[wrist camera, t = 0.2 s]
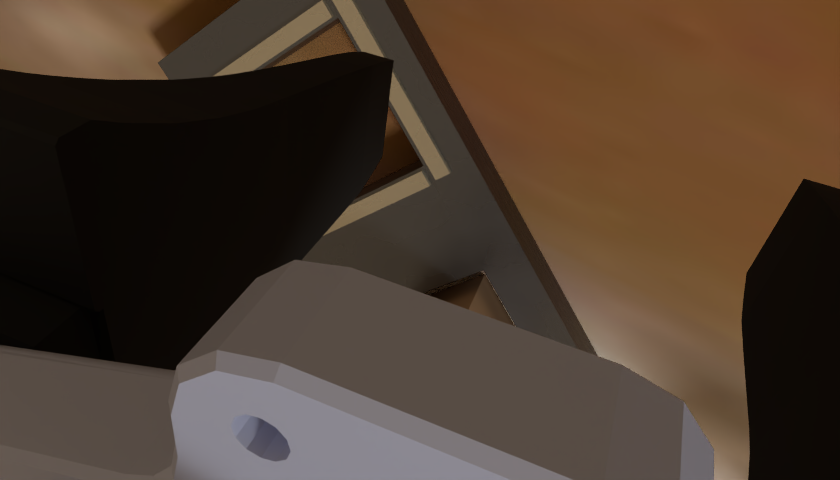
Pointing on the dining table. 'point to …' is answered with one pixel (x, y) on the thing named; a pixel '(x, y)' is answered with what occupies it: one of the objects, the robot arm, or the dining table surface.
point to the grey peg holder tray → (410, 186)
